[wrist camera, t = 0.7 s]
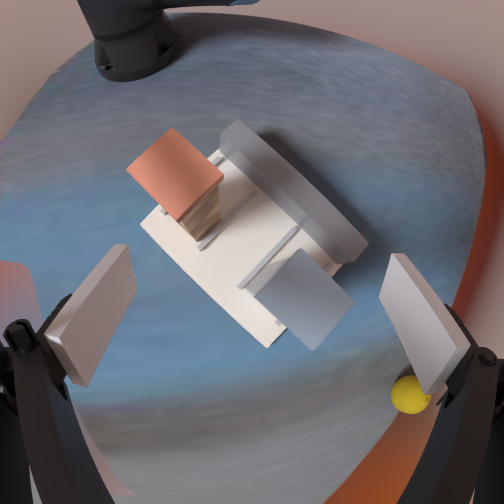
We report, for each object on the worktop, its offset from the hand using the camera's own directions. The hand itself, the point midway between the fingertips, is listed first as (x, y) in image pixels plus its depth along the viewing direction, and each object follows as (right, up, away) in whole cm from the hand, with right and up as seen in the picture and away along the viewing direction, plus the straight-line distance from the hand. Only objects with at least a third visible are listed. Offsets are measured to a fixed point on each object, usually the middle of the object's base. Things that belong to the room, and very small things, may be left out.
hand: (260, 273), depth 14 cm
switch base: (0, +3, +22) cm, 23 cm away
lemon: (+22, -20, +22) cm, 37 cm away
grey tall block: (+2, -4, +21) cm, 21 cm away
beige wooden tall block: (-7, +5, +21) cm, 22 cm away
